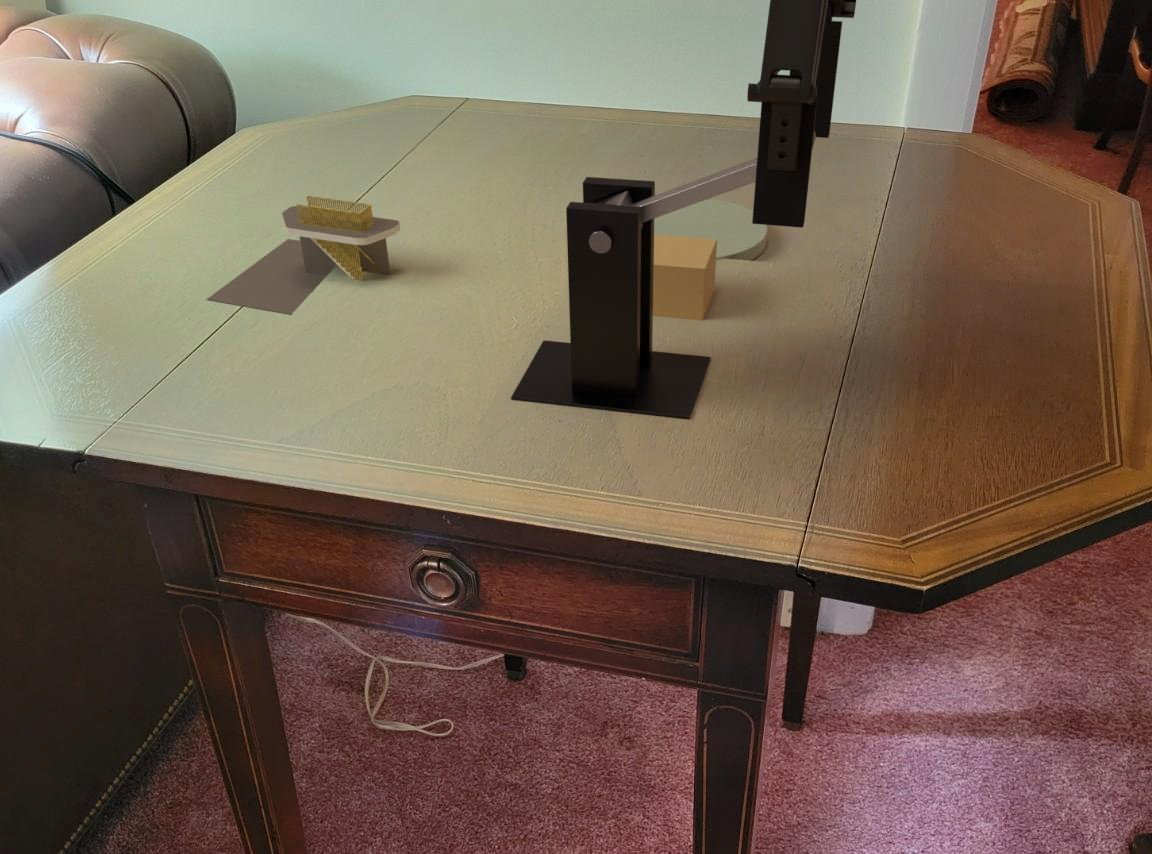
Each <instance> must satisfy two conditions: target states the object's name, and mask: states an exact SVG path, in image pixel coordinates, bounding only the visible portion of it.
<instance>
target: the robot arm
mask: <svg viewBox="0 0 1152 854" xmlns="http://www.w3.org/2000/svg"><path fill="white" fill-rule="evenodd" d="M856 7H857V0H769V6H768V14H767V24H766V31H765V39H764V48H763V56H762V63H761V70H760V79H759V81H757V83H748V85H747V95H746V96H747V97H746V98H747V102H749V103H761V106H760V119H759V131H758V133H759V134H758V144H757V155H756V156H757V157H756V158H757V168H756V181H755V182H754V183H755V184H754V196H753V206H752V207H753V208H752V210H753V219H752V224H763V225H767V226H777V227H789V228H802V229H803V228H804V225H805V220H806V210H807V202H808V191H809V182H810V175H811V174H810V173H811V164H812V163H811V162H812V155H813V154H812V153H813V149H812V146H813V147H814V145H813V137H814V131H815V133H816V138H822V139H829V137H830V132H831V126H832V125H831V124H832V116H833V106H834V100H835V99H834V97H835V89H836V80H837V71H838V63H839V62H838V61H839V54H840V45H841V36H842V28H843V21H842V20H841V21H840V20H833V18H842V19H846V18H847V19H854V18H855V12H856ZM780 71H789V74H779V72H780Z"/></svg>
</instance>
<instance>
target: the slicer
mask: <svg viewBox="0 0 1152 854" xmlns="http://www.w3.org/2000/svg"><path fill="white" fill-rule="evenodd" d="M626 191H628V192H629V195H630V197H631V199H632V202H633V203H636V202H639V201H641V200H644V199H647V198H649V197H652V196H655V195H656V182H655V181H654V180H641V179H639V180H638V179H627V178H626V179H625V178H612V177H611V178H610V177H609V178H608V177H595V176H586V177H585V179H584V180H583V182H582V202H580V201H579V202H578V201H569V203H568V205H567V206H566V208H565V209H566V211H565V212H566V213H565V215H566V216H565V217H566V245H567V275H568V276H567V277H568V278H567V279H568V305H569V306H568V310H569V338H570V339H569V341H570V342H566V341H565V342H564V341H554V340H545V339H544V340H542V342H541V344H540V345H539V347H538V348H537V351H536V353H534V356H533V358H532V360H531V362H530V363H529V365H528V367H527V368H526V371H525V372H524V373H523V375H522V377H521V379H520V381H519V382H518V384H517V385H516V387H515V389H514V392H513V393H512V395H511V396H510V400H511V401H518V402H524V403H525V402H527V403H535V404H545V405H551V406H552V405H554V406H563V407H569V408H570V407H571V408H580V409H589V410H598V411H606V412H607V411H608V412H616V413H625V414H635V415H643V416H652V417H660V418H668V419H669V418H670V419H680V420H690V419H691V417H692V413H693V411H694V409H695V405H696V402H697V399H698V396H699V394H700V391H701V388H702V384H703V382H704V379H705V377H706V373H707V370H708V368H709V365H710V362H711V358H712V357H711V356H707V355H706V356H705V355H698V354H697V355H696V354H686V353H676V352H665V351H656V350H655V351H654V350H653V326H654V325H653V324H654V323H653V321H654V316H653V270H654V219H651V220H648V221H646V222H643V223H642V225H643V226H642V228H641V207H637V206H623V205H609V204H595V203H596V202H599V201H602V200H604V199H607V198H610V197H612V196H615V195H618V194H620V193H623V192H626Z"/></svg>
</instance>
